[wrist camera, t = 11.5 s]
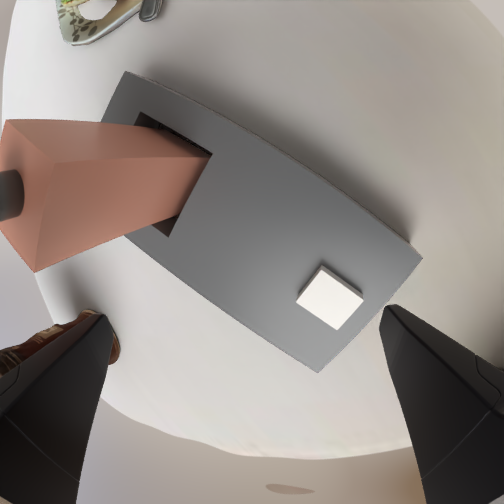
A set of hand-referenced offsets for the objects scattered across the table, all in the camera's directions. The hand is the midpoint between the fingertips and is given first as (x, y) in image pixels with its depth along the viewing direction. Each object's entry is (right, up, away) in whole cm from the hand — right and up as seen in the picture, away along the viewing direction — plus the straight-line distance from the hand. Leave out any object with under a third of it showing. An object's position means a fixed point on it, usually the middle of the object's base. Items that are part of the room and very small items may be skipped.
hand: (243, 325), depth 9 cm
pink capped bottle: (-5, +8, +11) cm, 15 cm away
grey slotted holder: (-1, +5, +11) cm, 12 cm away
